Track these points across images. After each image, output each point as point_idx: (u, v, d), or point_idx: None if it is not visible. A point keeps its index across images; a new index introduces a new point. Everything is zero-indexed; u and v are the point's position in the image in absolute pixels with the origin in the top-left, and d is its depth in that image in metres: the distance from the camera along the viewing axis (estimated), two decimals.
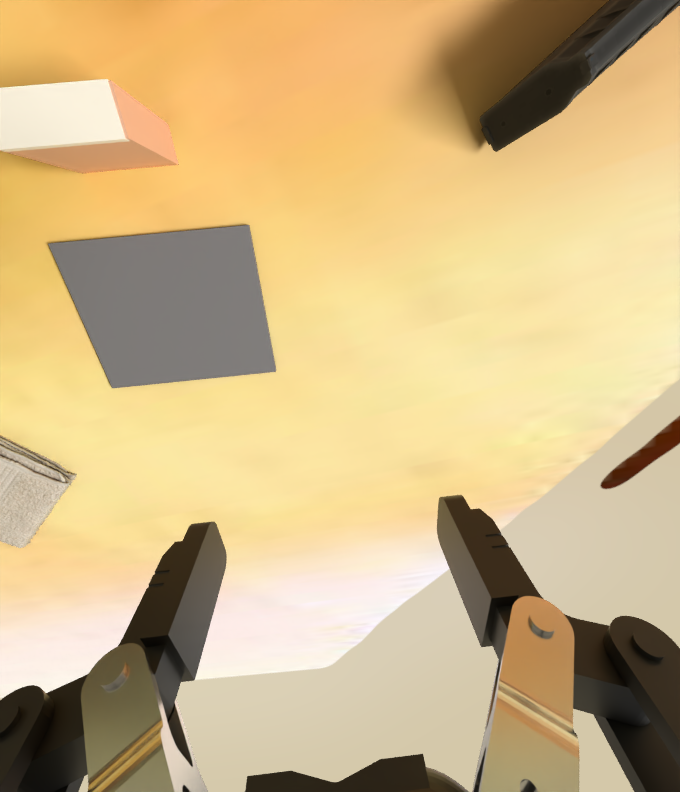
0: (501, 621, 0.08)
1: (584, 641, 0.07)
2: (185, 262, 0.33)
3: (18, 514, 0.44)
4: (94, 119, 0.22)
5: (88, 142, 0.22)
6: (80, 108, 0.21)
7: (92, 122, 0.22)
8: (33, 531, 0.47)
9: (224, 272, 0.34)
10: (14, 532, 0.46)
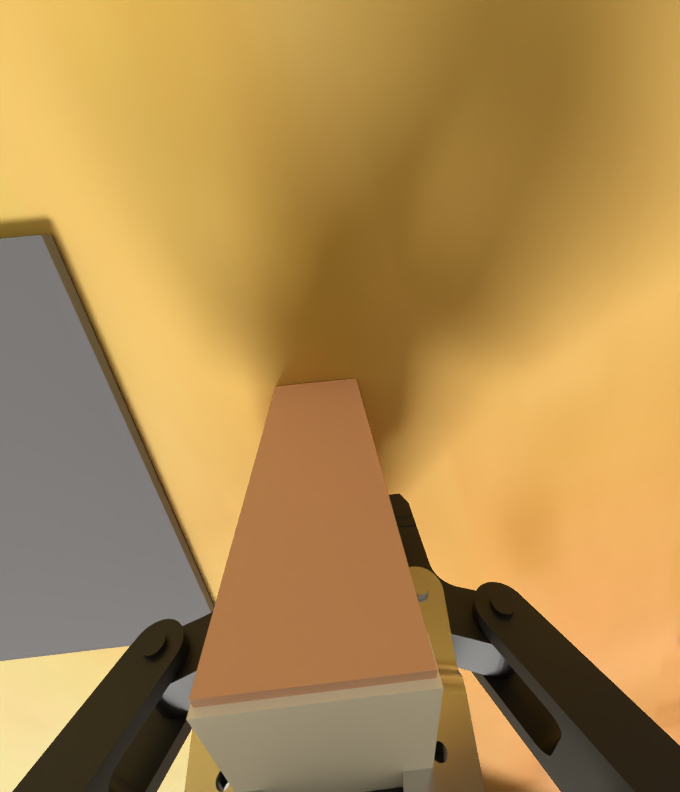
0: None
1: (457, 605, 0.08)
2: (118, 554, 0.15)
3: None
4: None
5: None
6: None
7: None
8: None
9: (121, 606, 0.16)
10: None
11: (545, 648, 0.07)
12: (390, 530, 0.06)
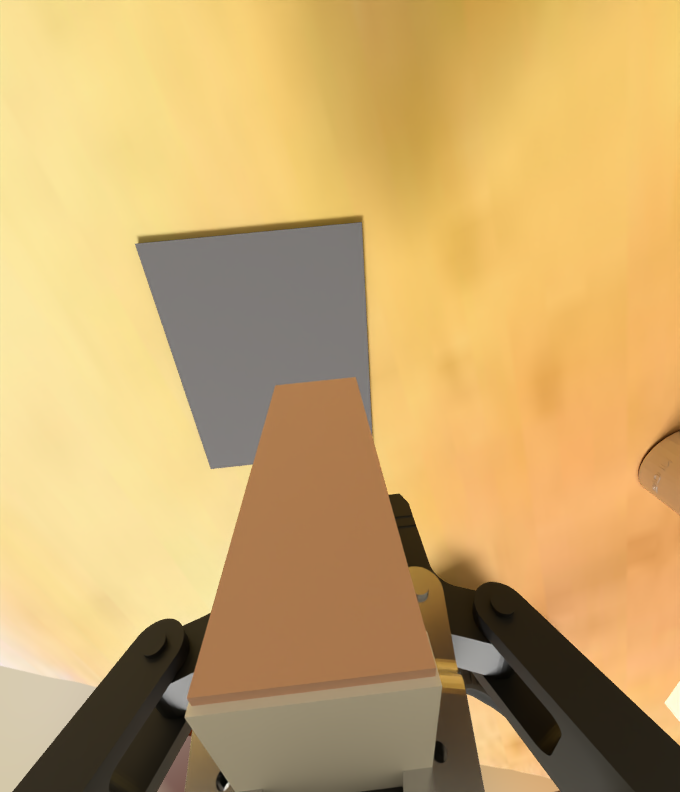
0: None
1: (457, 605, 0.08)
2: None
3: None
4: None
5: None
6: None
7: None
8: None
9: None
10: None
11: (545, 648, 0.07)
12: (389, 528, 0.06)
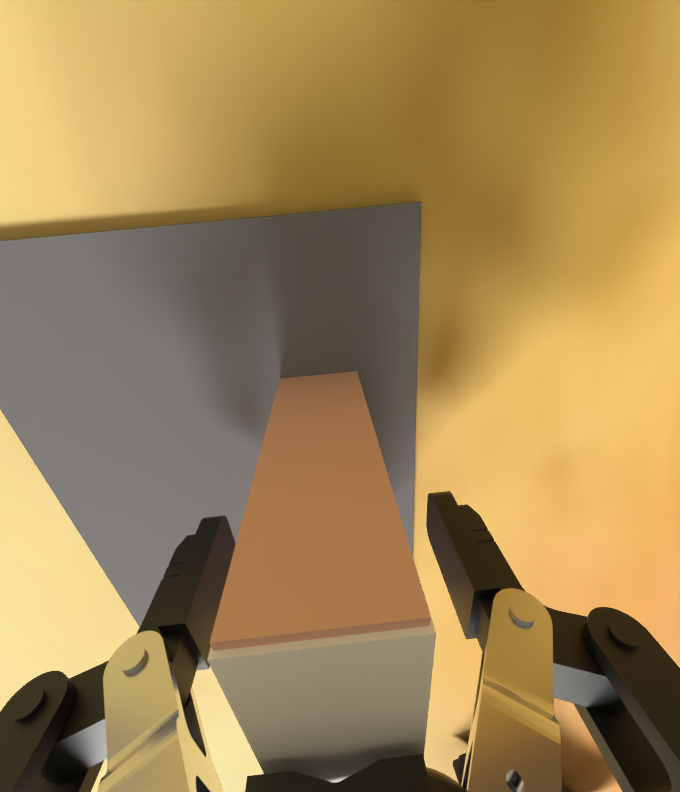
0: (484, 613, 0.08)
1: (563, 631, 0.07)
2: None
3: None
4: None
5: None
6: None
7: None
8: None
9: None
10: None
11: (672, 696, 0.06)
12: (389, 504, 0.06)
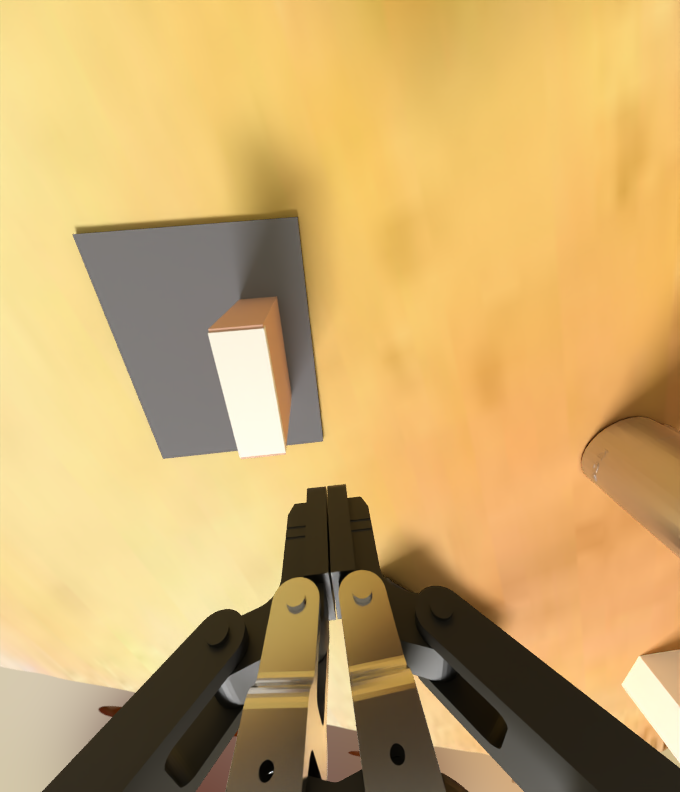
0: None
1: (401, 608, 0.08)
2: None
3: None
4: (252, 436, 0.21)
5: (232, 424, 0.21)
6: (260, 426, 0.21)
7: (250, 432, 0.21)
8: None
9: None
10: None
11: (483, 644, 0.07)
12: (264, 316, 0.20)
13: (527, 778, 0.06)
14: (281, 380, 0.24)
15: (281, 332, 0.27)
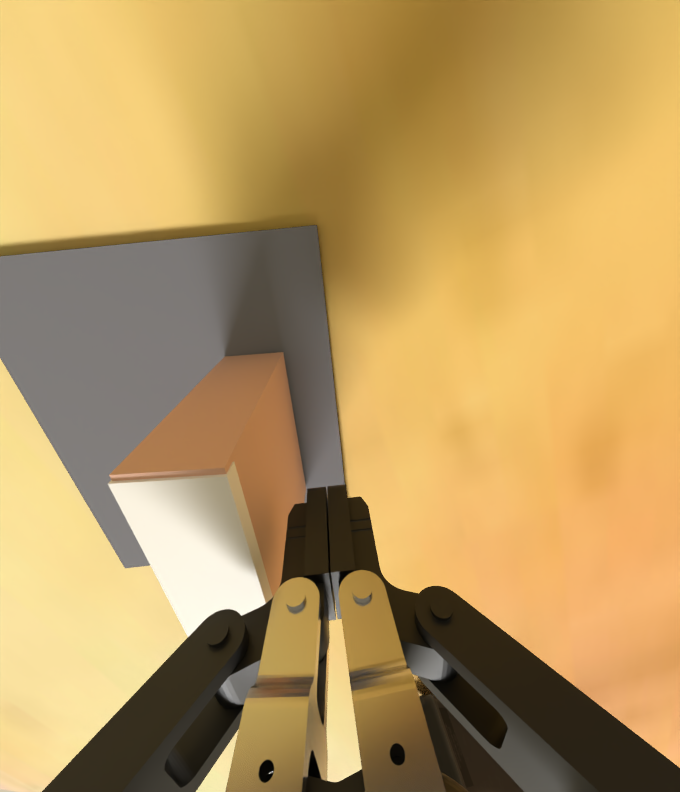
0: None
1: (401, 608, 0.08)
2: None
3: None
4: None
5: None
6: None
7: None
8: None
9: None
10: None
11: (483, 644, 0.07)
12: (241, 424, 0.10)
13: (527, 778, 0.06)
14: (282, 505, 0.14)
15: (289, 406, 0.17)
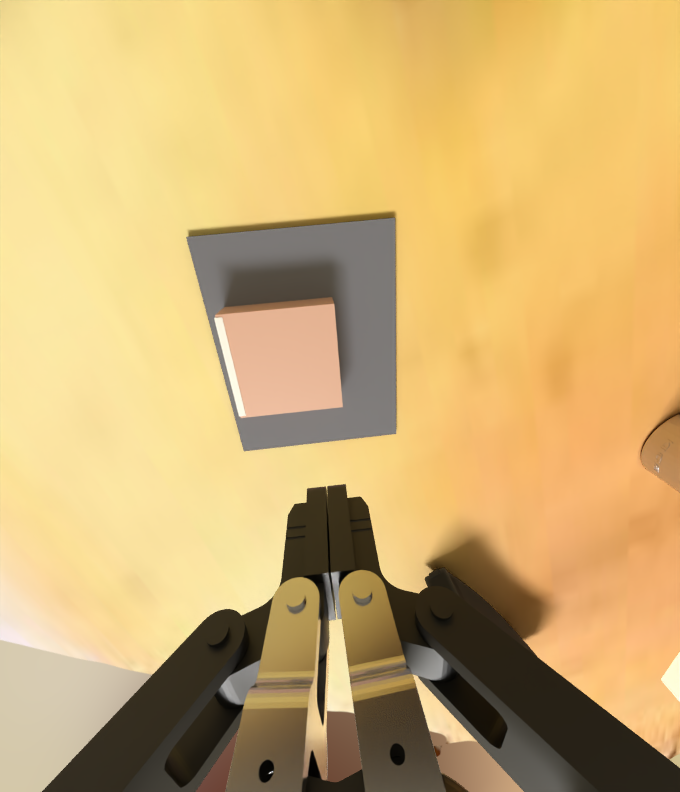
0: None
1: (401, 608, 0.08)
2: (365, 374, 0.30)
3: None
4: None
5: None
6: None
7: None
8: None
9: (354, 409, 0.32)
10: None
11: (484, 644, 0.07)
12: (243, 311, 0.24)
13: (527, 778, 0.06)
14: (277, 373, 0.26)
15: (329, 340, 0.26)
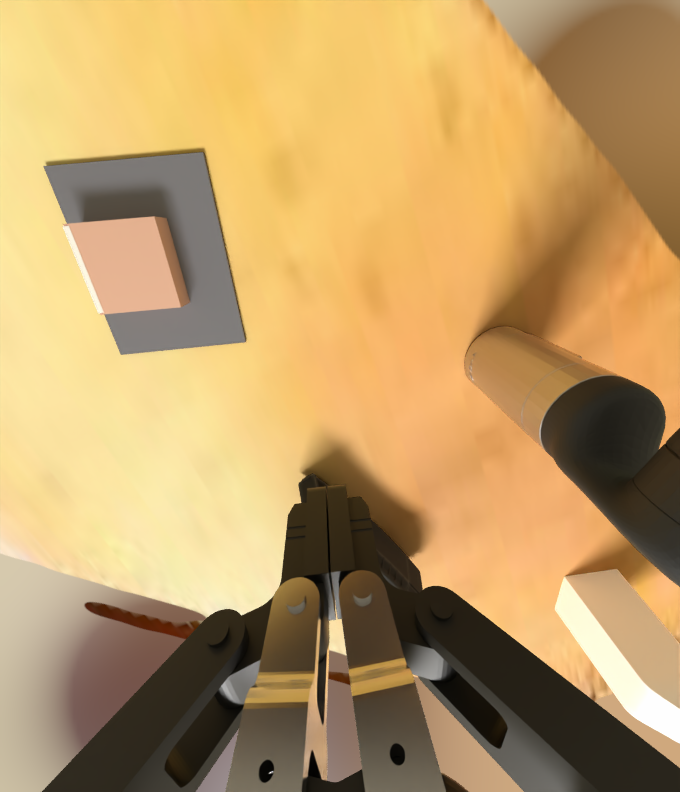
0: None
1: (401, 608, 0.08)
2: (208, 286, 0.38)
3: None
4: None
5: None
6: None
7: None
8: None
9: (205, 318, 0.40)
10: None
11: (483, 644, 0.07)
12: (85, 222, 0.32)
13: (527, 778, 0.06)
14: (121, 275, 0.34)
15: (157, 247, 0.33)
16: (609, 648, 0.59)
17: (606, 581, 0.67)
